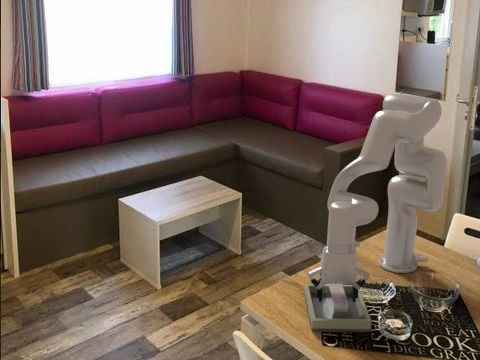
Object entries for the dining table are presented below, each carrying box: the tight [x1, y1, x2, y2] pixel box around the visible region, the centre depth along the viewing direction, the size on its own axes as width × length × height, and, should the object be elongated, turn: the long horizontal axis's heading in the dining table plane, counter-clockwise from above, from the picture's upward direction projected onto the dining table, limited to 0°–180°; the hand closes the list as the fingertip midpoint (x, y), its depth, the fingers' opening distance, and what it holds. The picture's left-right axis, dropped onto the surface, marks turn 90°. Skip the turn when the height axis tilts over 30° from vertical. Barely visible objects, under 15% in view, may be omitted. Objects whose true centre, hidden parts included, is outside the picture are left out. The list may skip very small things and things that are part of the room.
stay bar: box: [325, 284, 349, 319], centre depth 164 cm, size 4×14×6 cm, turn 0°
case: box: [303, 283, 372, 333], centre depth 165 cm, size 16×20×4 cm
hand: (336, 299), depth 164 cm, fingers open, 9 cm apart
